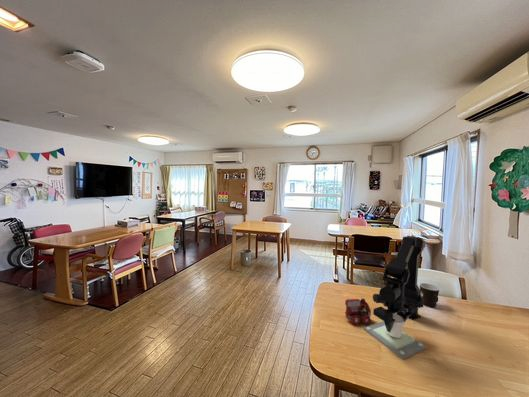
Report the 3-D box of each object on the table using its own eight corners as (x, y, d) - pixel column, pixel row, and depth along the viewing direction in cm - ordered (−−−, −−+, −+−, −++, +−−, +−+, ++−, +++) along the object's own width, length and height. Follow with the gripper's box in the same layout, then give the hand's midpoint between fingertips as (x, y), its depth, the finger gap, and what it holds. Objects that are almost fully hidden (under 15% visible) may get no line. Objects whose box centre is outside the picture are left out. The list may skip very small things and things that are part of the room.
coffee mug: (418, 298, 125) (419, 281, 125) (437, 303, 120) (438, 286, 120) (418, 307, 116) (419, 289, 115) (439, 313, 111) (440, 294, 110)
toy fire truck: (374, 324, 101) (375, 302, 101) (348, 325, 100) (349, 303, 99) (365, 315, 108) (366, 295, 108) (341, 316, 107) (342, 296, 106)
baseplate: (385, 322, 103) (385, 318, 103) (426, 348, 87) (426, 344, 86) (363, 329, 97) (363, 325, 97) (403, 359, 81) (403, 354, 81)
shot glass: (380, 328, 95) (381, 312, 95) (395, 327, 96) (396, 312, 95) (391, 339, 88) (392, 322, 88) (407, 338, 89) (408, 322, 88)
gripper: (392, 281, 102) (390, 314, 103) (363, 289, 94) (361, 323, 95) (417, 292, 92) (415, 328, 93) (387, 301, 84) (384, 340, 85)
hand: (393, 329), depth 92 cm, fingers closed on shot glass, 6 cm apart
